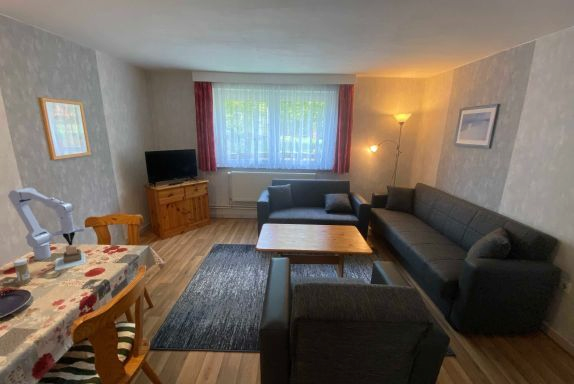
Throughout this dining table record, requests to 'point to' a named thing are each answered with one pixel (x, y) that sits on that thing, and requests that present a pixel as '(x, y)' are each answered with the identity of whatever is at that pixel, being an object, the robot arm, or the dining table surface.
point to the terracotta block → (71, 249)
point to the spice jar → (22, 271)
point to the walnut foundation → (72, 257)
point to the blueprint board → (61, 265)
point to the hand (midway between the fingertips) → (70, 244)
